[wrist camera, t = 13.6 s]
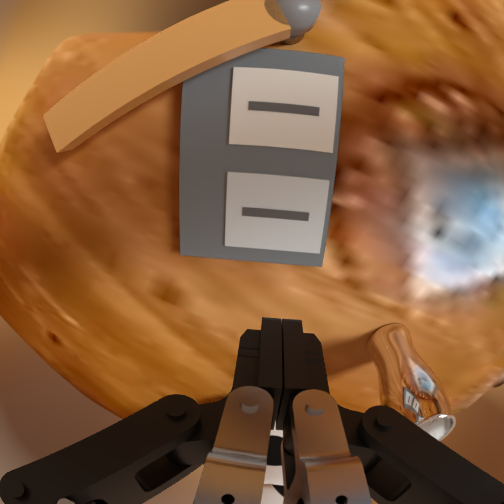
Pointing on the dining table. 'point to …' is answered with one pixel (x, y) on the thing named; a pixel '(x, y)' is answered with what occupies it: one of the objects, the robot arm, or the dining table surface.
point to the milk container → (273, 470)
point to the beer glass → (409, 381)
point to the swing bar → (174, 62)
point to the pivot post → (292, 39)
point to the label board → (260, 157)
